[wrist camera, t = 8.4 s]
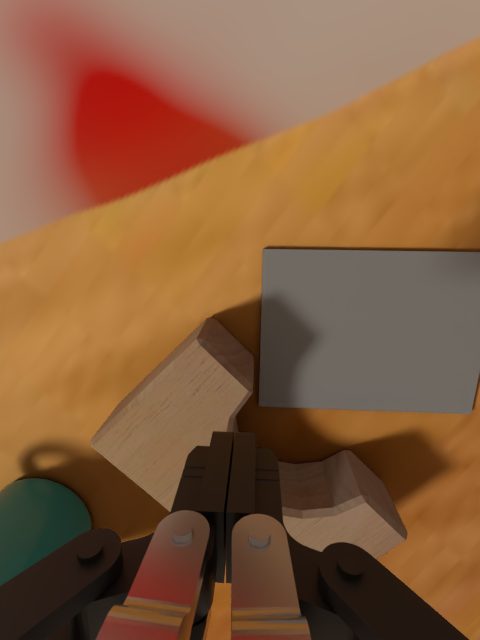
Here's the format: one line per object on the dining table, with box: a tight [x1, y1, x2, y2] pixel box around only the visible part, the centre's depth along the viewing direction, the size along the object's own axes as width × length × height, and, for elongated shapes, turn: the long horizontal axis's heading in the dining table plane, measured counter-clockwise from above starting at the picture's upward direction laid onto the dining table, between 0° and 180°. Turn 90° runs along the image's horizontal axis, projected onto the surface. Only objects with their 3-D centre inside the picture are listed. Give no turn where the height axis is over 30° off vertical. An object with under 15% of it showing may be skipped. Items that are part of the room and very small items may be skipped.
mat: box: [259, 249, 480, 414], centre depth 26 cm, size 16×12×1 cm
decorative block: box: [91, 318, 407, 559], centre depth 26 cm, size 11×6×20 cm
